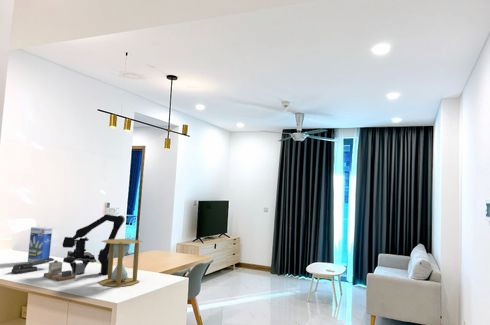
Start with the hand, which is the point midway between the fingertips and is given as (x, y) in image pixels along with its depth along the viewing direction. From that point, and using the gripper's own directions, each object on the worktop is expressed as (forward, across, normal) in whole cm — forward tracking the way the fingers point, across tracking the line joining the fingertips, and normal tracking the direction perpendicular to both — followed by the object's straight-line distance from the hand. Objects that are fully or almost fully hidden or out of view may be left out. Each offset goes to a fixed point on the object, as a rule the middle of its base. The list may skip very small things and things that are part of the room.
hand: (78, 271), depth 231 cm
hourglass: (+2, -4, +37) cm, 37 cm away
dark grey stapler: (+2, +14, -30) cm, 33 cm away
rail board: (+1, +13, +1) cm, 13 cm away
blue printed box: (+2, -1, -54) cm, 54 cm away
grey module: (+1, 0, 0) cm, 1 cm away
